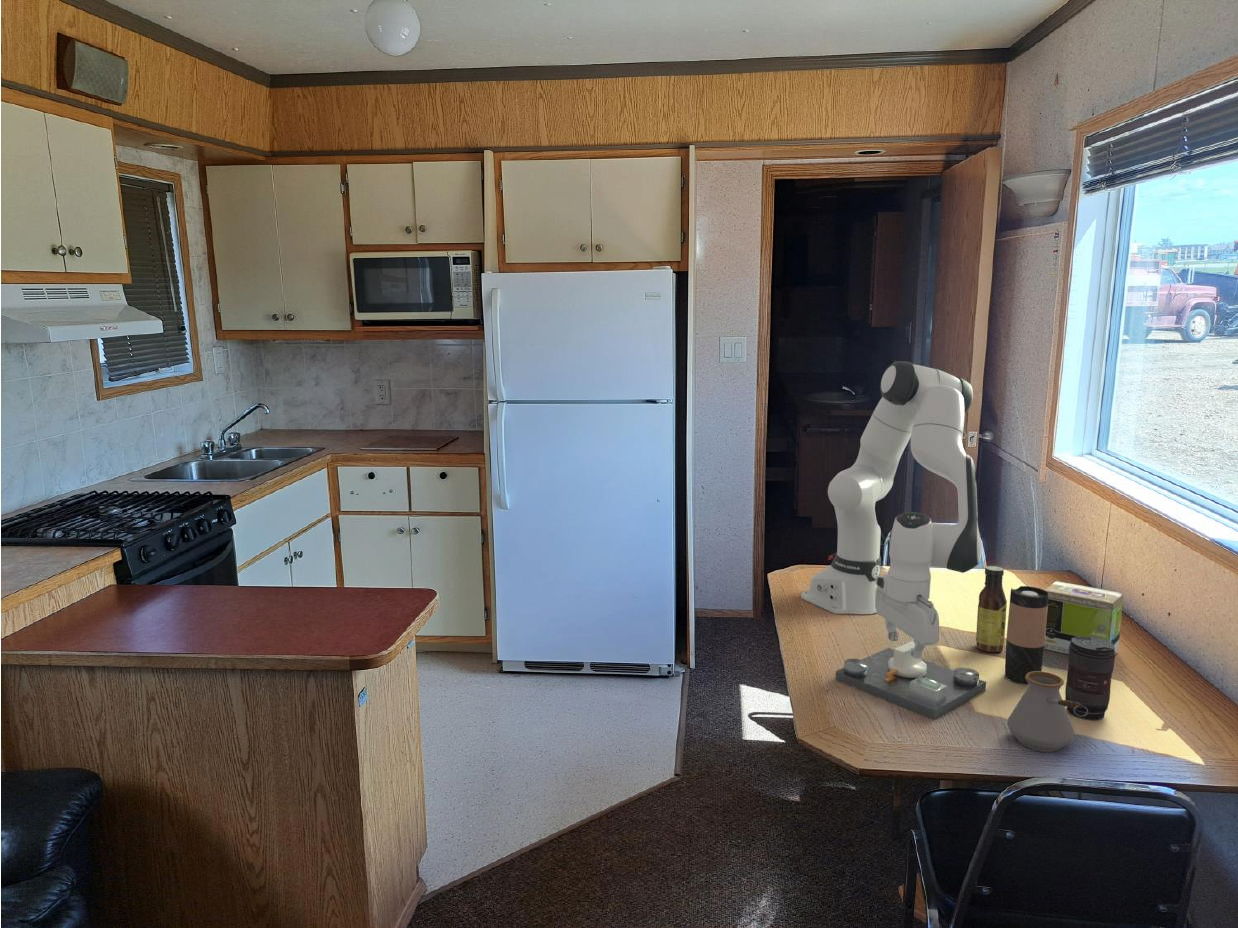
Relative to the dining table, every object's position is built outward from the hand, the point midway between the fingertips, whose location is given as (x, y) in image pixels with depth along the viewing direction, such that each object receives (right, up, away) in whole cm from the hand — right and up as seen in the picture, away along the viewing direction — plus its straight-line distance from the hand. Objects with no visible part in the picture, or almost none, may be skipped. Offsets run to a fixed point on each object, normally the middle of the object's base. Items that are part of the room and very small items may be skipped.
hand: (904, 648), depth 191 cm
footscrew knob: (0, -5, 0) cm, 5 cm away
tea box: (+47, -4, +16) cm, 49 cm away
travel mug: (+27, -7, +1) cm, 27 cm away
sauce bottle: (+26, -4, +17) cm, 32 cm away
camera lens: (+32, -10, -15) cm, 37 cm away
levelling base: (+1, -8, -2) cm, 8 cm away
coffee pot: (+17, -13, -30) cm, 37 cm away
